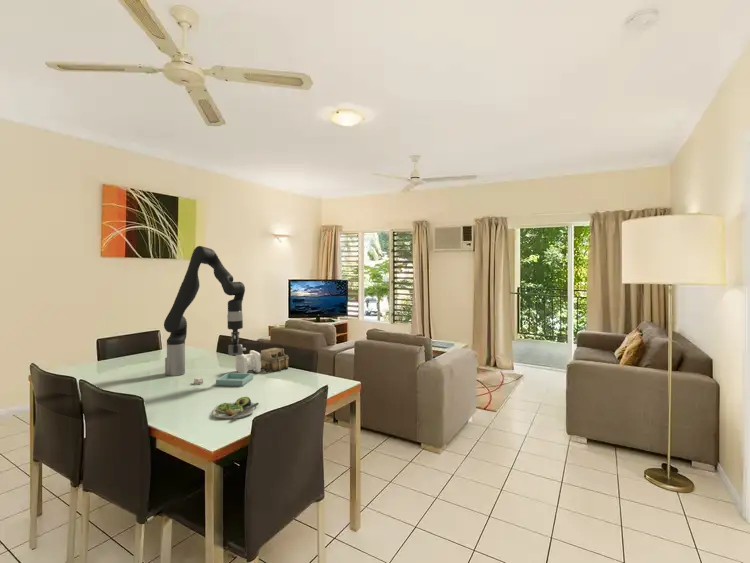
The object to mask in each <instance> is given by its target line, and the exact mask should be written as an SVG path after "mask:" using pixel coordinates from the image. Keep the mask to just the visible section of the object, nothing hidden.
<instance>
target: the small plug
mask: <svg viewBox="0 0 750 563" xmlns="http://www.w3.org/2000/svg"><path fill="white" fill-rule="evenodd" d="M193 382H194V384H197V385H201V384H204V378H202V377H194V380H193Z"/></svg>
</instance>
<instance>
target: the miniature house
mask: <svg viewBox="0 0 750 563" xmlns="http://www.w3.org/2000/svg"><path fill="white" fill-rule="evenodd" d="M260 356H261V370H263V371H265V372H267V373H276V372H282V371H284V370H289V359H290V357H289V355H288V354H285V349H284V348H280V347H271V348H270V347H269V348H267V349H262V350H260ZM261 370H260V371H261Z"/></svg>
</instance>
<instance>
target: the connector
mask: <svg viewBox="0 0 750 563" xmlns="http://www.w3.org/2000/svg"><path fill="white" fill-rule="evenodd" d="M227 347H228V348H227V349H228V350H227V351H228V356H236V355H242V354H244V353H243V352H244V351H247V348H246V347H243V344H241V343H240V344H239V343H238V353H233V345H232V344H228V346H227Z"/></svg>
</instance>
